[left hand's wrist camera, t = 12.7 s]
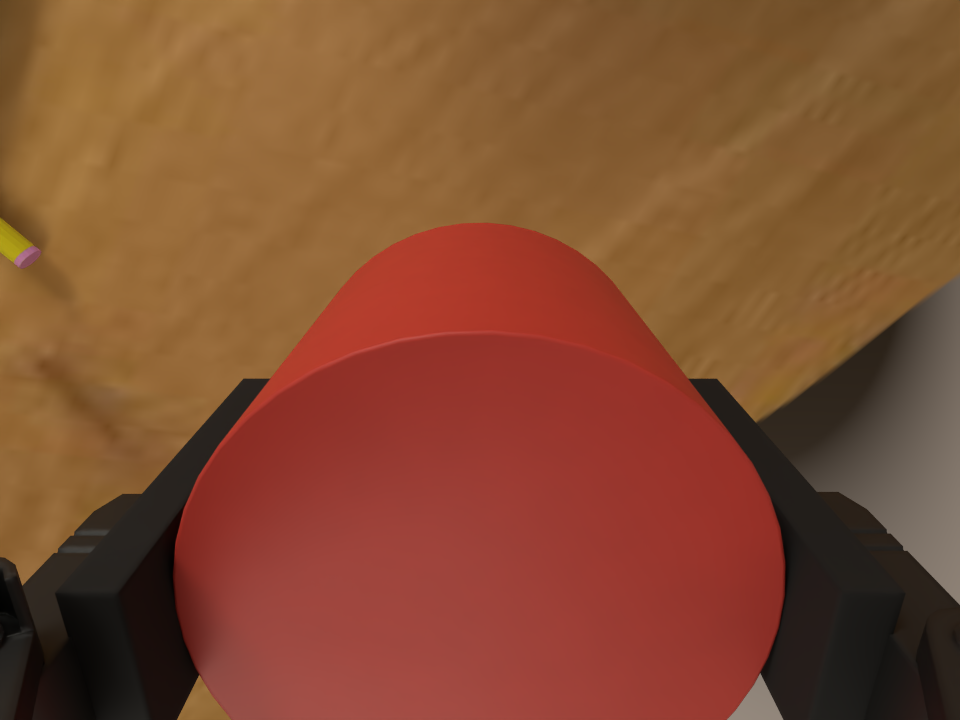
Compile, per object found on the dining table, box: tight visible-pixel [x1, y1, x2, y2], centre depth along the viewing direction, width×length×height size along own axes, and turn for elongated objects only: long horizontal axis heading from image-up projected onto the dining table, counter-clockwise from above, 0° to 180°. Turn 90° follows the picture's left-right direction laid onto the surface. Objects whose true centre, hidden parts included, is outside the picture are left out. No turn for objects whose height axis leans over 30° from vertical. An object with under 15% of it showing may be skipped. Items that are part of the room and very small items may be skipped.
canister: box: [173, 223, 785, 720], centre depth 13 cm, size 9×9×8 cm
